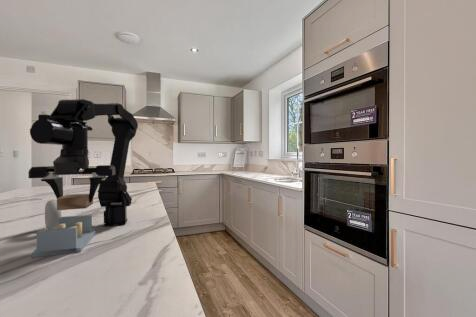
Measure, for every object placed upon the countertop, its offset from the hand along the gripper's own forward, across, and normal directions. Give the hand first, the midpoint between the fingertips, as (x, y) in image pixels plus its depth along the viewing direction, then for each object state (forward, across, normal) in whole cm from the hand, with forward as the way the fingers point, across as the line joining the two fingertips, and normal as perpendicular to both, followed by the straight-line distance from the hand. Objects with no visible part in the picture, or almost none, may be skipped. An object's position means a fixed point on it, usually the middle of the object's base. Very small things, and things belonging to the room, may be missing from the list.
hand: (76, 202), depth 64 cm
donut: (+11, -11, +16) cm, 22 cm away
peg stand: (+11, -2, 0) cm, 11 cm away
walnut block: (+1, 0, 0) cm, 1 cm away
